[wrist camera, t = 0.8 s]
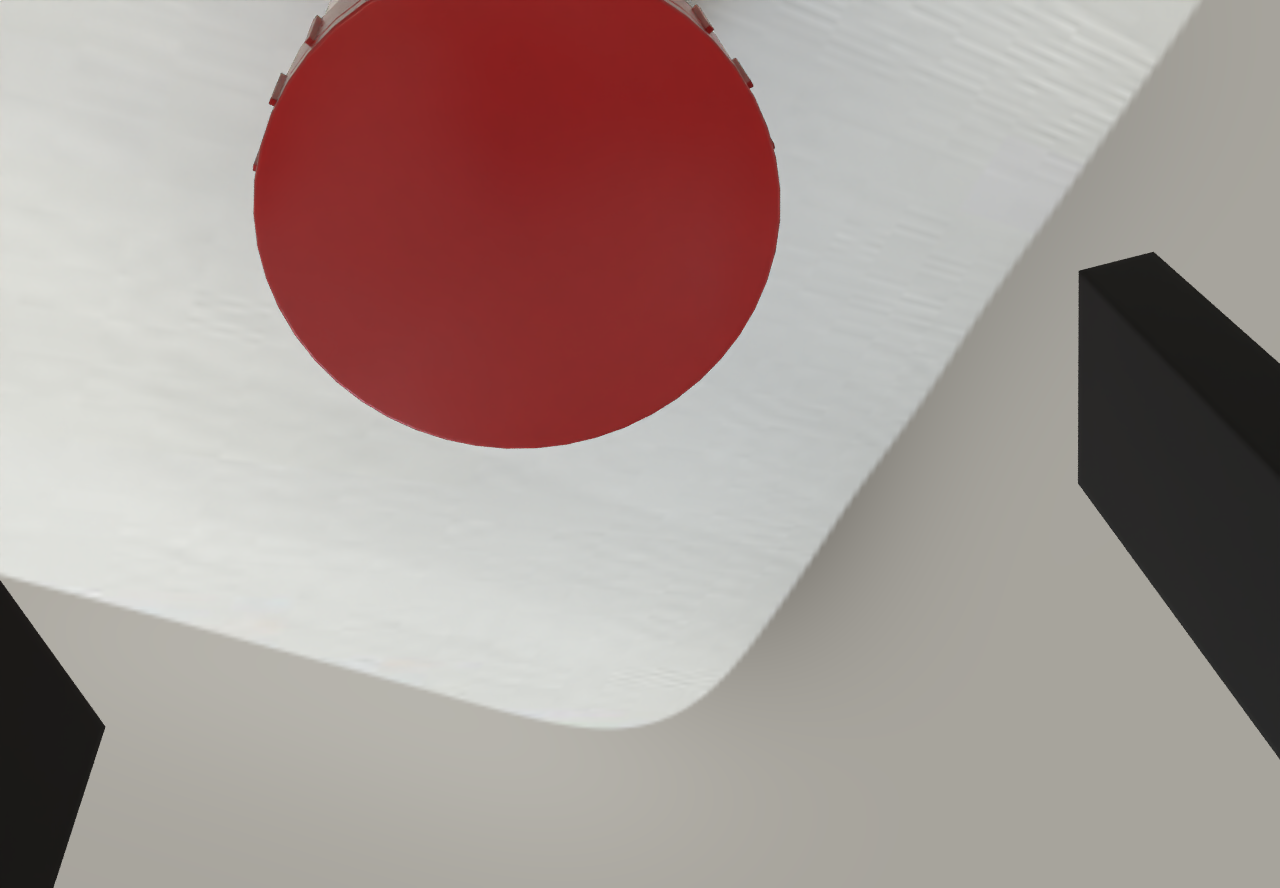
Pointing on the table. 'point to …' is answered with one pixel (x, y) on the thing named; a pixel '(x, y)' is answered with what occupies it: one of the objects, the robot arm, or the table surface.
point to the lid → (516, 210)
